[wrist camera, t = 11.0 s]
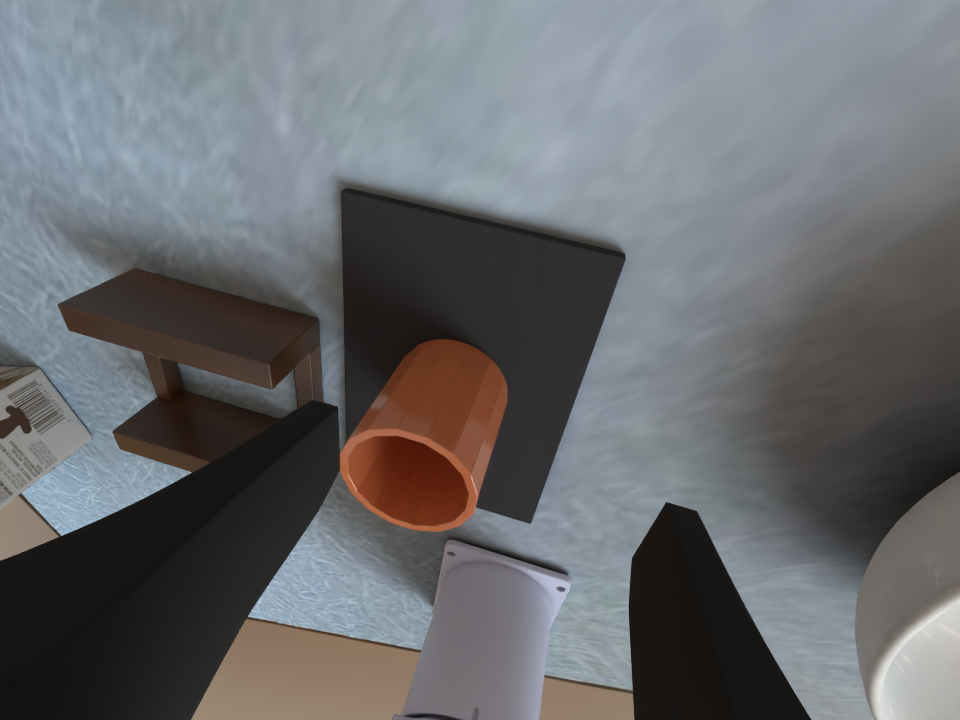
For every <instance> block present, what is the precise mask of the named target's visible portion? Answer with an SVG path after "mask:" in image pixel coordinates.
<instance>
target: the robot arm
mask: <svg viewBox="0 0 960 720" xmlns="http://www.w3.org/2000/svg"><path fill="white" fill-rule="evenodd" d="M339 470H340V450H339V422H338V407H337V406H333V405H330V404H326V403H323V402H320V401H316V400H311V401H309V402H307V403H306V404H304V405H302V406H301V407H299V408H298V409H296V410H294V411H293V412H291V413H290V414H288V415H287V416H285V417H283V418H282V419H280V420H279V421H277V422H276V423H274V424H272V425H271V426H269V427H268V428H266V429H265V430H263V431H261V432H260V433H258V434H257V435H255V436H253V437H252V438H250V439H249V440H247V441H245V442H244V443H242V444H240V445H239V446H237V447H235V448H234V449H232V450H230V451H229V452H227V453H225V454H224V455H222V456H220V457H219V458H217V459H215V460H214V461H212V462H210V463H209V464H207V465H205V466H203V467H201V468H200V469H198V470H196V471H194V472H192V473H191V474H189V475H187V476H185V477H183V478H182V479H180V480H178V481H176V482H174V483H172V484H171V485H169V486H167V487H165V488H163V489H161V490H159V491H157V492H156V493H154V494H152V495H150V496H148V497H146V498H144V499H142V500H140V501H138V502H136V503H134V504H132V505H130V506H128V507H125V508H123V509H121V510H119V511H117V512H115V513H113V514H111V515H109V516H107V517H104V518H102V519H100V520H98V521H96V522H93V523H91V524H89V525H86V526H84V527H82V528H80V529H77V530H75V531H72V532H70V533H68V534H65V535H63V536H61V537H58V538H56V539H53V540H51V541H49V542H46V543H44V544H41V545H39V546H37V547H34V548H32V549H29V550H27V551H25V552H22V553H20V554H17V555H15V556H12V557H9V558H7V559H4V560H1V561H0V720H191V719H192V717H193V715H194V713H195V711H196V709H197V707H198V705H199V704H200V702H201V700H202V698H203V696H204V694H205V692H206V690H207V688H208V687H209V685H210V683H211V681H212V679H213V677H214V675H215V674H216V672H217V670H218V668H219V666H220V664H221V663H222V661H223V659H224V657H225V655H226V654H227V652H228V650H229V648H230V646H231V645H232V643H233V641H234V639H235V638H236V636H237V634H238V632H239V630H240V629H241V627H242V625H243V623H244V621H245V620H246V618H247V617H248V615H249V614H250V612H251V610H252V609H253V607H254V606H255V604H256V602H257V601H258V599H259V598H260V596H261V595H262V593H263V592H264V591H265V589H266V588H267V586H268V585H269V583H270V582H271V580H272V579H273V577H274V576H275V574H276V573H277V571H278V570H279V568H280V567H281V566H282V564H283V563H284V561H285V560H286V558H287V557H288V555H289V554H290V552H291V551H292V549H293V548H294V546H295V545H296V544H297V542H298V541H299V539H300V538H301V536H302V535H303V533H304V532H305V530H306V529H307V527H308V526H309V524H310V523H311V521H312V520H313V518H314V517H315V515H316V514H317V512H318V511H319V509H320V507H321V505H322V503H323V501H324V500H325V498H326V496H327V494H328V492H329V490H330V488H331V486H332V484H333V482H334V480H335V478H336V476H337V474H338V472H339ZM571 582H572V580H571V578H570V577H569V576H567V575H564V574H561V573H558V572H555V571H552V570H548V569H545V568H542V567H539V566H536V565H532V564H529V563H526V562H523V561H520V560H517V559H513V558H510V557H507V556H504V555H501V554H497V553H494V552H491V551H488V550H485V549H482V548H478V547H475V546H472V545H469V544H466V543H462V542H459V541H456V540H448V541H447V542H446V544H445V548H444V553H443V559H442V564H441V569H440V575H439V580H438V585H437V591H436V596H435V601H434V606H433V612H432V614H433V616H432V619H431V623H430V626H429V629H428V632H427V635H426V638H425V641H424V644H423V647H422V650H421V654H420V657H419V660H418V663H417V666H416V669H415V672H414V676H413V678H412V682H411V684H410V688H409V691H408V694H407V697H406V700H405V703H404V706H403V709H402V712H401V715H397V714H394V715H393V718H392V720H539V717H540V708H541V699H542V691H543V682H544V674H545V665H546V657H547V648H548V639H549V631H550V627H551V625H552V623H553V621H554V619H555V617H556V615H557V613H558V611H559V609H560V607H561V605H562V603H563V601H564V599H565V598H566V596H567V594H568V592H569V590H570V588H571ZM629 625H630V645H631V664H632V682H633V699H634V718H635V720H811V718H810V717H809V715H808V714H807V712H806V710H805V709H804V707H803V706H802V704H801V702H800V701H799V699H798V697H797V696H796V694H795V693H794V691H793V689H792V688H791V686H790V684H789V682H788V681H787V679H786V677H785V676H784V674H783V672H782V671H781V669H780V667H779V666H778V664H777V662H776V661H775V659H774V657H773V655H772V654H771V652H770V650H769V648H768V647H767V645H766V643H765V641H764V640H763V638H762V636H761V634H760V632H759V630H758V629H757V627H756V625H755V623H754V621H753V619H752V618H751V616H750V614H749V612H748V610H747V608H746V607H745V605H744V603H743V601H742V599H741V597H740V595H739V593H738V592H737V590H736V588H735V586H734V584H733V582H732V580H731V578H730V576H729V574H728V572H727V570H726V568H725V566H724V564H723V562H722V560H721V558H720V556H719V554H718V552H717V550H716V548H715V546H714V544H713V542H712V540H711V538H710V536H709V534H708V532H707V530H706V528H705V526H704V524H703V522H702V520H701V518H700V516H699V514H698V513H697V511H695V510H691V509H688V508H684V507H681V506H678V505H674V504H671V503H667V502H666V504H665V505H664V507H663V508H662V510H661V512H660V513H659V515H658V517H657V518H656V520H655V521H654V523H653V525H652V526H651V528H650V530H649V531H648V533H647V535H646V536H645V538H644V539H643V541H642V543H641V544H640V546H639V548H638V549H637V551H636V552H635V554H634V556H633V557H632V565H631V578H630V594H629Z"/></svg>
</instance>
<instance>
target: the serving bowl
mask: <svg viewBox="0 0 960 720" xmlns="http://www.w3.org/2000/svg"><path fill="white" fill-rule="evenodd" d="M855 637H856V646H857V655H858V661H859V666H860V672H861V676H862V680H863V684H864V689H865V693H866V697H867V701H868V704H869V707H870V710H871V712H872V715H873V717H874V719H875V720H960V472H959V473H957V474H956V475H954V476H952V477H951V478H949V479H948V480H946V481H945V482H943V483H942V484H941V485H939V486H938V487H936V488H935V489H933V490H932V491H930V492H929V493H928V494H927V495H926V496H924V497H923V498H922V499H921V500H920V501H919V502H917V503H916V504H915V505H914V506H913V507H912V508H911V509H910V510H909V511H908V512H907V513H906V514H904V515H903V516H902V517H901V518H900V519H899V520H898V522H897V523H896V524H895V525H894V526H893V527H892V529H891V530H890V531H889V532H888V534H887V535H886V536H885V538H884V539H883V541H882V542H881V543H880V545H879V547H878V548H877V550H876V551H875V553H874V555H873V557H872V559H871V560H870V563H869V565H868V567H867V569H866V572H865V574H864V577H863V580H862V583H861V586H860V590H859V593H858V599H857V605H856V618H855Z"/></svg>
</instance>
